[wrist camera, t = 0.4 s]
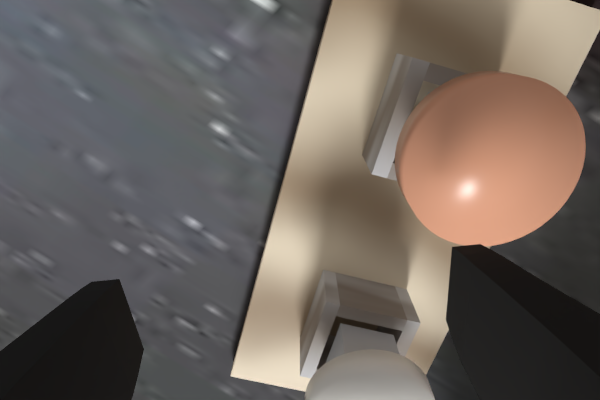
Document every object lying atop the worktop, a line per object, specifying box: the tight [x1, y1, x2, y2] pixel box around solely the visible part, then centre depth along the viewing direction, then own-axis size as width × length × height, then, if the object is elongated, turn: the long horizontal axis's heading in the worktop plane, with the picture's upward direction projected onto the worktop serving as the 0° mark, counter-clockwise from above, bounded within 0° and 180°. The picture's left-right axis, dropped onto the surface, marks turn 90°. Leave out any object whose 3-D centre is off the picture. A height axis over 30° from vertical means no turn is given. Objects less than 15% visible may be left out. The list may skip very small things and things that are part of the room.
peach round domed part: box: [395, 71, 586, 246], centre depth 13 cm, size 5×5×4 cm
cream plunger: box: [305, 323, 435, 400], centre depth 17 cm, size 5×5×4 cm
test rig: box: [231, 0, 600, 392], centre depth 18 cm, size 21×10×4 cm, turn 165°
